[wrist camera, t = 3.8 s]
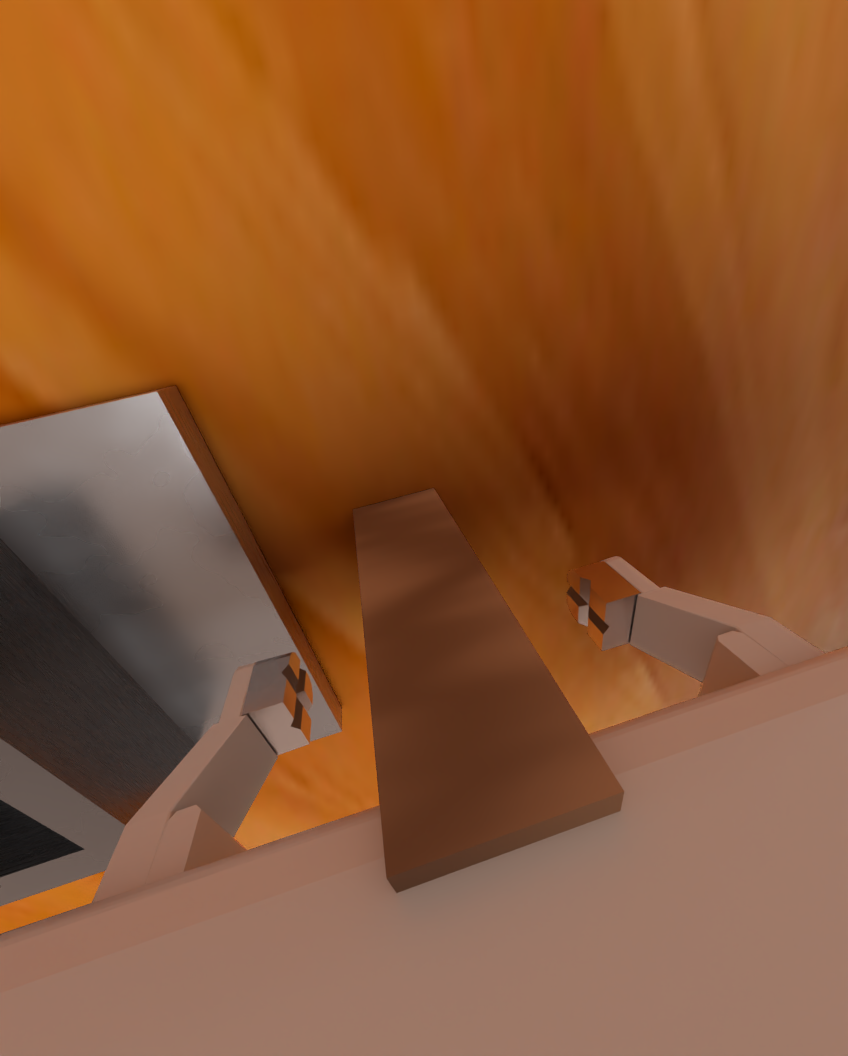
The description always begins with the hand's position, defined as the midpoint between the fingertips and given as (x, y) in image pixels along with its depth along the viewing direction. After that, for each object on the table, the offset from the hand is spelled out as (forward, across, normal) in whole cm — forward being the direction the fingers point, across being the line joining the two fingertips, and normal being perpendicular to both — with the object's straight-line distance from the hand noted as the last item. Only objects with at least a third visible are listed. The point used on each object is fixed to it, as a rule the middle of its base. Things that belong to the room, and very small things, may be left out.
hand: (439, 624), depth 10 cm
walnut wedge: (+4, 0, 0) cm, 4 cm away
